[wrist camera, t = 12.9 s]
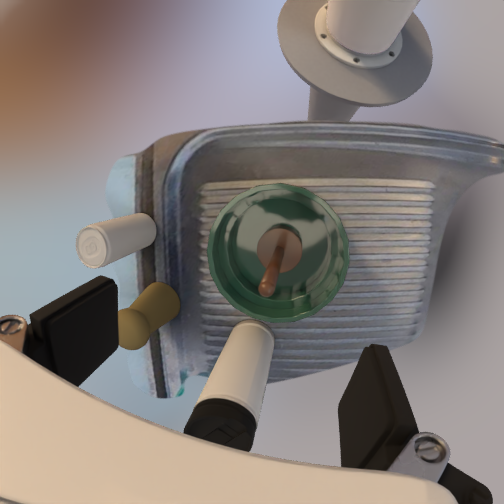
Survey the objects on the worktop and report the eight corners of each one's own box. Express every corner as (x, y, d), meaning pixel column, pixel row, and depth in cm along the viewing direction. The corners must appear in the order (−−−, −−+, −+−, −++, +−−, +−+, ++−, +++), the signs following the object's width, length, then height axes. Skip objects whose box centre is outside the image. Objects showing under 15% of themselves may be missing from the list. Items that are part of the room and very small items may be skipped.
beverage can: (163, 238, 39) (114, 260, 28) (137, 251, 40) (85, 275, 29) (149, 206, 39) (96, 217, 27) (124, 220, 40) (69, 236, 28)
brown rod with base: (264, 221, 36) (236, 248, 21) (306, 230, 35) (310, 265, 20) (256, 261, 37) (224, 314, 22) (296, 271, 36) (292, 330, 21)
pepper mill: (158, 273, 41) (115, 301, 30) (188, 303, 41) (153, 341, 30) (137, 299, 42) (95, 330, 32) (165, 327, 43) (129, 365, 32)
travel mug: (220, 339, 41) (167, 438, 22) (250, 310, 40) (207, 411, 20) (253, 365, 42) (220, 472, 22) (284, 338, 40) (266, 449, 20)
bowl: (233, 173, 36) (220, 171, 30) (354, 199, 34) (364, 203, 28) (213, 287, 40) (198, 304, 34) (324, 313, 38) (327, 335, 32)
